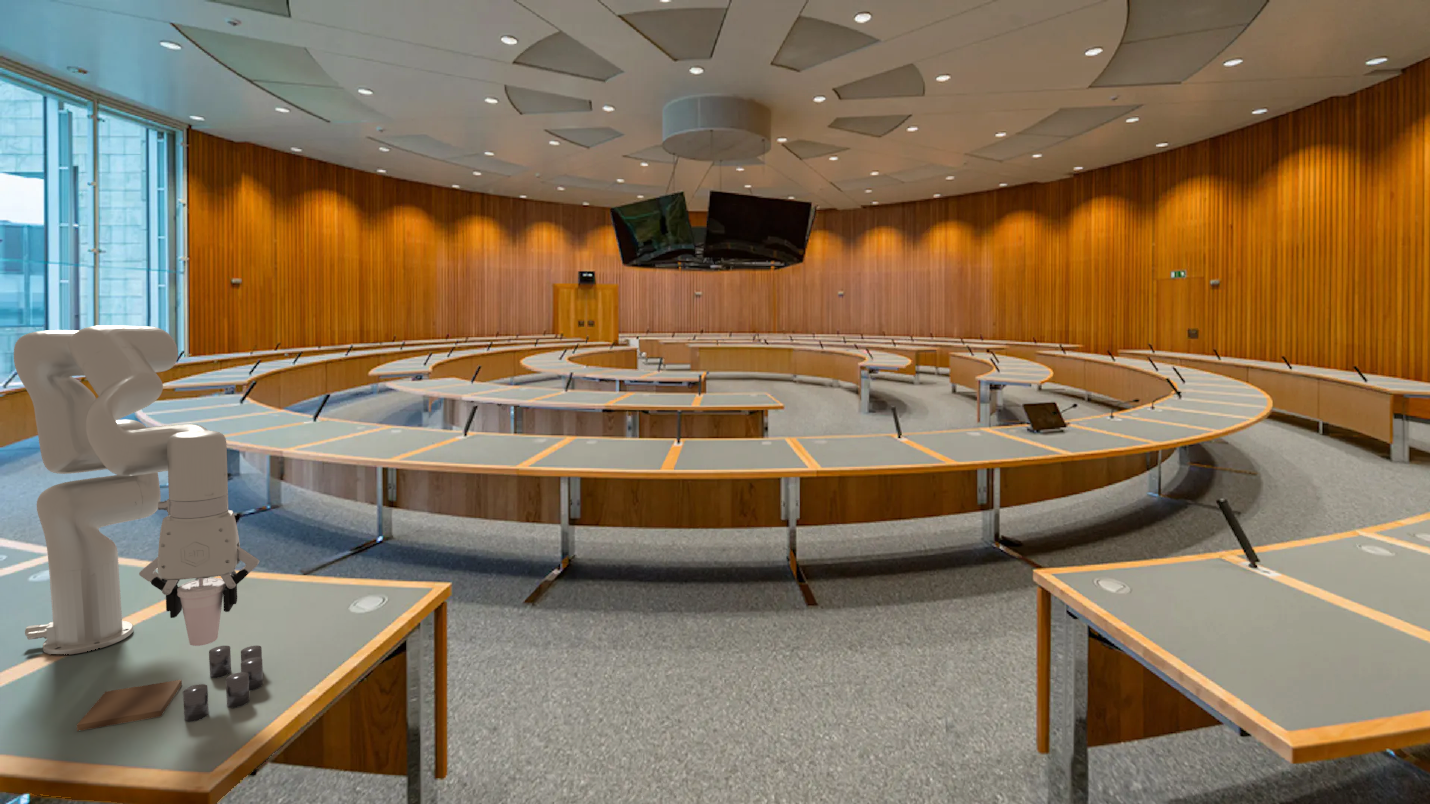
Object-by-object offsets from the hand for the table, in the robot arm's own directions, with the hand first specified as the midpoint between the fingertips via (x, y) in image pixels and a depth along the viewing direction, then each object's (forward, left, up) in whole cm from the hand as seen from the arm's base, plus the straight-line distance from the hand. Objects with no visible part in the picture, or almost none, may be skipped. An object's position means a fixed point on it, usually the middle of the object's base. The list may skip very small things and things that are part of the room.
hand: (202, 610), depth 107 cm
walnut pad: (-10, -1, -14) cm, 17 cm away
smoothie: (0, 0, -5) cm, 5 cm away
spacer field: (+3, -1, -14) cm, 15 cm away
